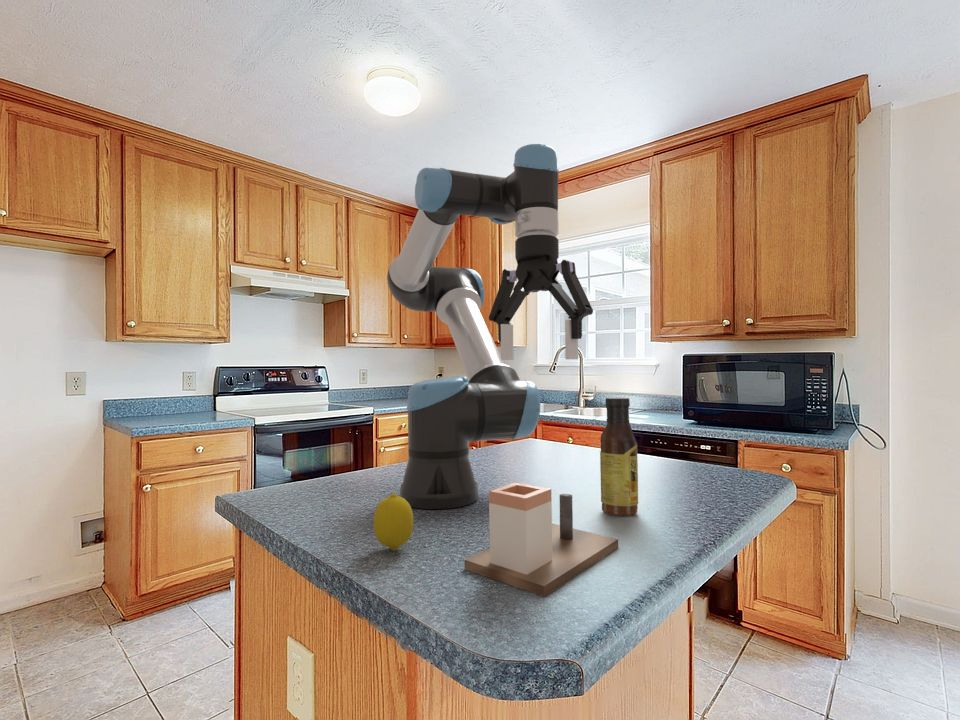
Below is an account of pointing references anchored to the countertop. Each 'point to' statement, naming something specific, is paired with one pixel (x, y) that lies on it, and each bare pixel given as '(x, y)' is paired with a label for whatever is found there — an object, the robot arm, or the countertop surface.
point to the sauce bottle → (618, 461)
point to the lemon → (393, 521)
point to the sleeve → (520, 527)
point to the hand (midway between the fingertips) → (537, 359)
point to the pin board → (568, 556)
